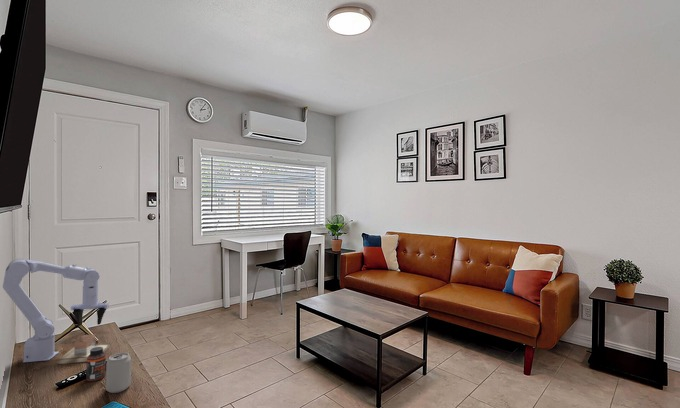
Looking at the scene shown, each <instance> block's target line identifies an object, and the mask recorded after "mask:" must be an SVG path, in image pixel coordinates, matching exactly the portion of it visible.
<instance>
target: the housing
mask: <svg viewBox="0 0 680 408" xmlns="http://www.w3.org/2000/svg"><path fill="white" fill-rule="evenodd" d="M95 345H96V334H83V335H82V336H80V337H79V338H78V339H77V340H76V341H75V342H74V346H75V351H74V356H85V355H88V354H89V353H90V350H91V349H92V348H95Z"/></svg>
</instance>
